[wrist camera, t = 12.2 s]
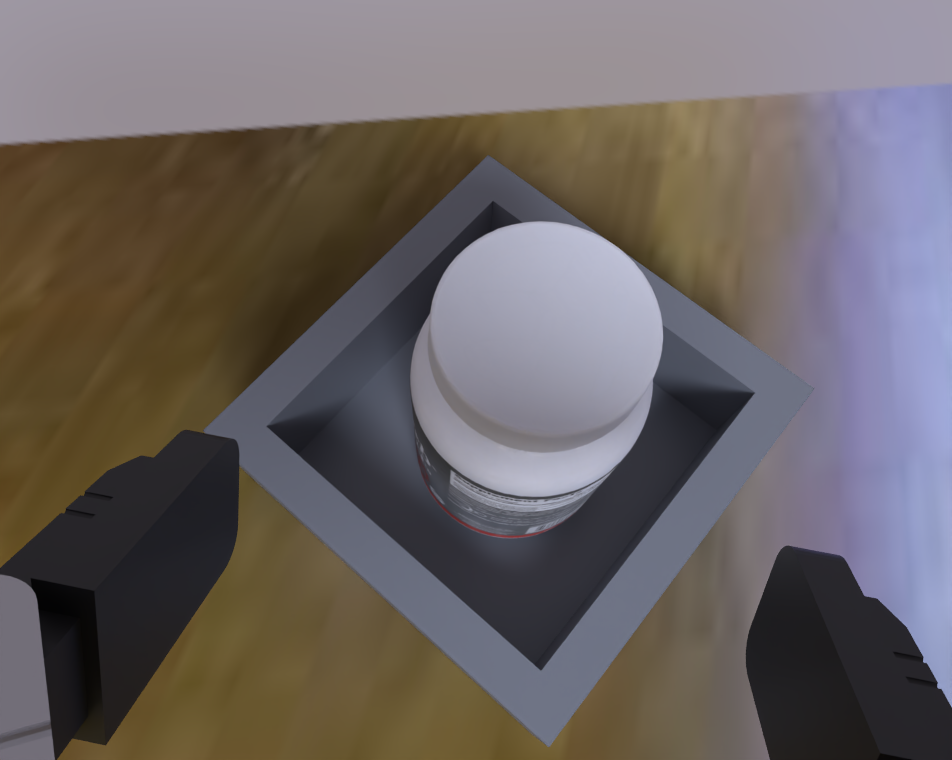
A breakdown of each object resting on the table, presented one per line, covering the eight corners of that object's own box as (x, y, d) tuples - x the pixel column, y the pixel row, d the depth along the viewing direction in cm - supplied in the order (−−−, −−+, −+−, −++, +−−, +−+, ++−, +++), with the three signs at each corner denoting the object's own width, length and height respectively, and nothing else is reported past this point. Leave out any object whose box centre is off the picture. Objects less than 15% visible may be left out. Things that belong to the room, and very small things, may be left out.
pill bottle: (434, 354, 26) (432, 174, 16) (604, 381, 26) (700, 216, 16) (401, 526, 24) (377, 433, 14) (586, 557, 24) (683, 483, 14)
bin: (757, 435, 26) (814, 388, 22) (532, 734, 23) (548, 746, 18) (484, 232, 29) (488, 154, 25) (245, 472, 25) (202, 430, 21)
